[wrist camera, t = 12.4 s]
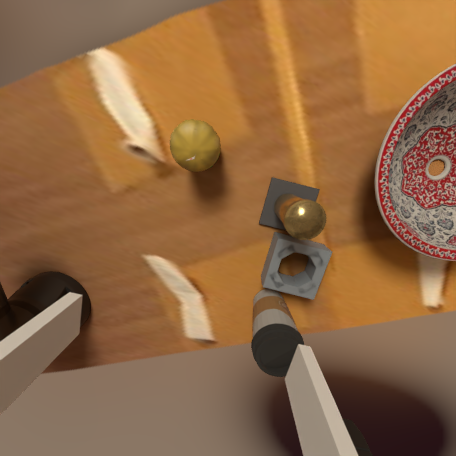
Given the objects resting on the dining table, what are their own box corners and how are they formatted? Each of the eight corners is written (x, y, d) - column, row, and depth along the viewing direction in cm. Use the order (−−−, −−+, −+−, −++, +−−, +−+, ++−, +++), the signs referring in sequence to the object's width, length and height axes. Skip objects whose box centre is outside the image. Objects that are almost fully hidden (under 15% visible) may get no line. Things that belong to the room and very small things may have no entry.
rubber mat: (258, 222, 43) (259, 223, 43) (272, 177, 41) (272, 177, 40) (303, 233, 43) (303, 234, 43) (318, 189, 41) (319, 189, 40)
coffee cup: (295, 304, 47) (319, 363, 33) (263, 323, 49) (272, 387, 34) (273, 276, 46) (287, 323, 31) (241, 296, 47) (240, 351, 33)
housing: (260, 276, 46) (262, 286, 42) (274, 231, 43) (278, 238, 39) (306, 287, 46) (313, 299, 42) (323, 244, 43) (332, 252, 39)
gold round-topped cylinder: (268, 217, 42) (279, 234, 31) (277, 188, 41) (291, 195, 29) (296, 224, 42) (317, 244, 31) (306, 196, 41) (332, 205, 29)
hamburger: (217, 124, 39) (207, 104, 28) (229, 164, 41) (224, 161, 29) (178, 138, 40) (152, 124, 29) (190, 176, 42) (171, 178, 30)
